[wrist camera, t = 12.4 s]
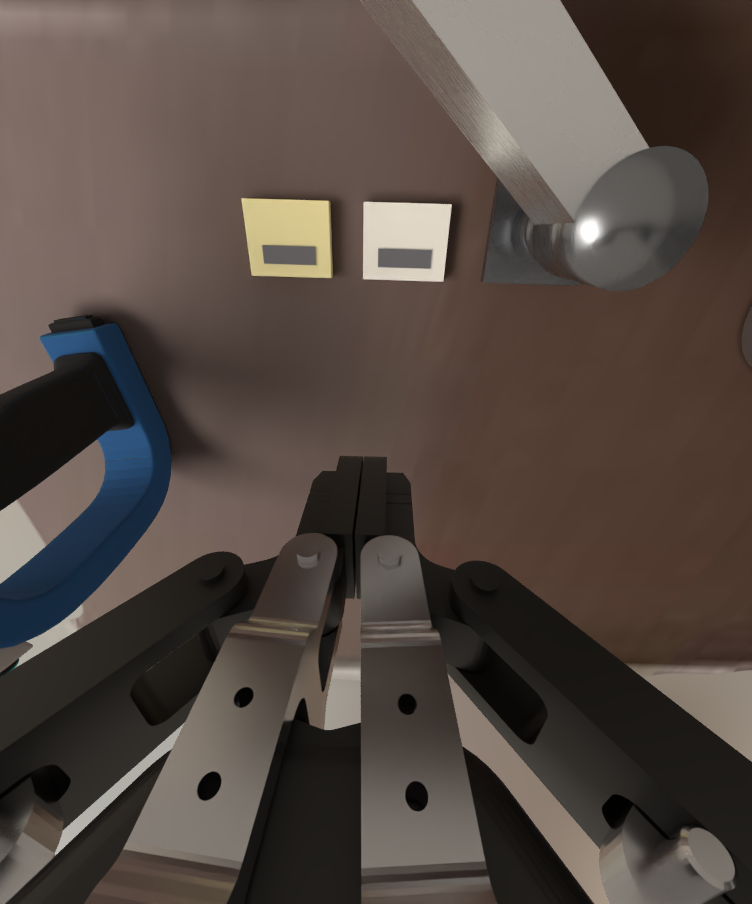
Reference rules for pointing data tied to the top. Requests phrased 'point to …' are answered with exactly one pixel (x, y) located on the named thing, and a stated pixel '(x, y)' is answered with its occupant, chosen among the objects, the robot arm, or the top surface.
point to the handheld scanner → (54, 444)
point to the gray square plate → (513, 246)
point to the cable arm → (554, 135)
